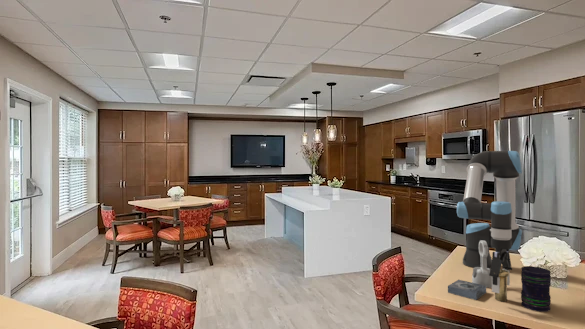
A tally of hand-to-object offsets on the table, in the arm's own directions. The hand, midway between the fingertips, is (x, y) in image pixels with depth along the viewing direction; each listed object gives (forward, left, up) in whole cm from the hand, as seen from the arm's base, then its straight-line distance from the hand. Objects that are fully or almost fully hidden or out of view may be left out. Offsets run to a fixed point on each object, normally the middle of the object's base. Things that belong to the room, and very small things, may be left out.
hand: (500, 288), depth 150 cm
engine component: (-16, -12, -5) cm, 21 cm away
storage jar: (-2, +12, -5) cm, 13 cm away
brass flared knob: (0, 0, -5) cm, 5 cm away
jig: (+2, -13, -5) cm, 14 cm away
